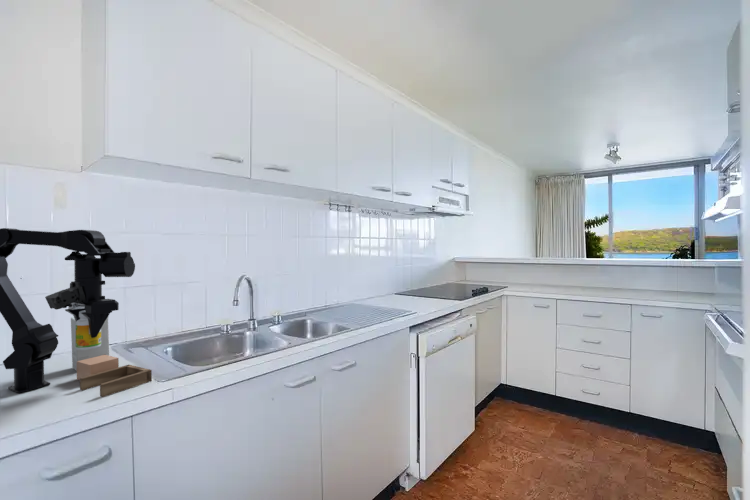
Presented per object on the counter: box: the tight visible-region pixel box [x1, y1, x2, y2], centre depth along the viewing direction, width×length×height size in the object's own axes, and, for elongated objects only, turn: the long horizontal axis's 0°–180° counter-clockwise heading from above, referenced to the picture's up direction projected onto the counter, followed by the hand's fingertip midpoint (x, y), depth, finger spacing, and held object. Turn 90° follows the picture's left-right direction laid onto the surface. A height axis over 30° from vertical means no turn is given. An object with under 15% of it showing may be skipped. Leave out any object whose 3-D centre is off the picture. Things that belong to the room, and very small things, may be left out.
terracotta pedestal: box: [76, 355, 120, 381], centre depth 103 cm, size 7×7×5 cm
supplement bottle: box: [76, 310, 101, 350], centre depth 98 cm, size 5×5×10 cm
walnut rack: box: [79, 364, 153, 398], centre depth 98 cm, size 10×12×3 cm
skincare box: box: [70, 316, 110, 372], centre depth 112 cm, size 8×7×16 cm
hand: (88, 336), depth 98 cm, fingers closed on supplement bottle, 5 cm apart
